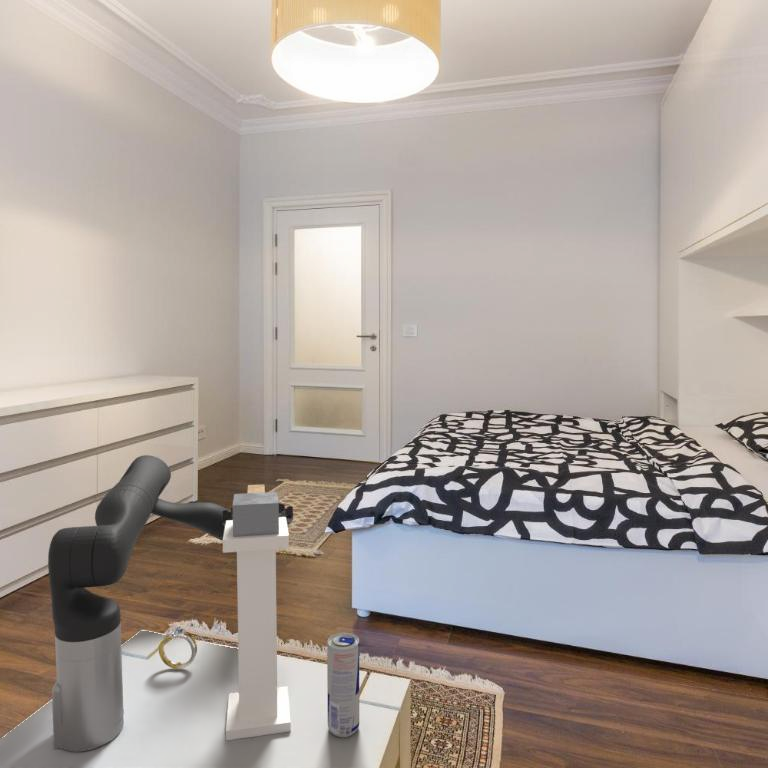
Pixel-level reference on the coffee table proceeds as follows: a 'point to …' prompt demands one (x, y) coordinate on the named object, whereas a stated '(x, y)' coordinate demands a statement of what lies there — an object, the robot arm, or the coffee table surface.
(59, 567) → the robot arm
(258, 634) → the stand
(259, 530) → the hammer
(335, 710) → the beverage can
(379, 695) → the coffee table surface
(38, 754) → the coffee table surface
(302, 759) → the coffee table surface
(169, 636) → the ring
